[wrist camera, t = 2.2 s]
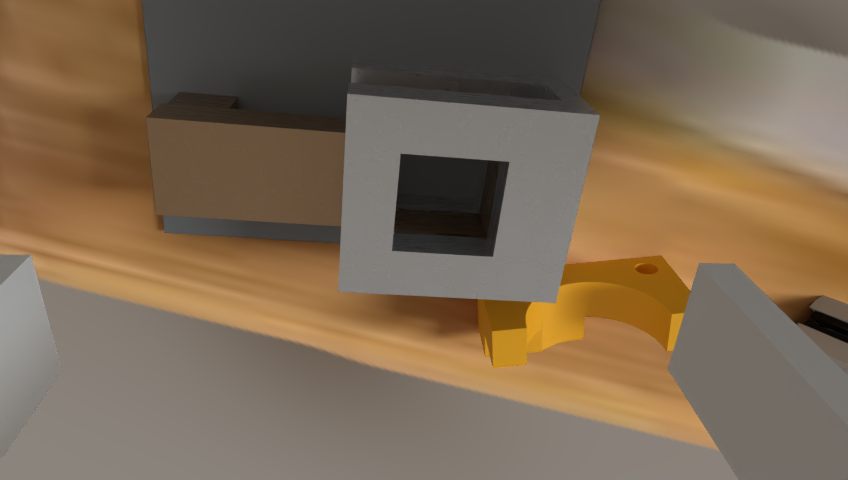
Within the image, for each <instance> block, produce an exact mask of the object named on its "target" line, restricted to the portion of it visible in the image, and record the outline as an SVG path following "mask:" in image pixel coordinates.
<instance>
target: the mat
mask: <svg viewBox="0 0 848 480" xmlns="http://www.w3.org/2000/svg"><path fill="white" fill-rule="evenodd" d="M600 1H601V0H142V8H143V18H144V28H145V38H146V48H147V58H148V69H149V79H150V89H151V99H152V109H153V111H154V110H155V109H156V108H157V107H158V106H159V105H160V104H161V103H166V104H167V103H168V102H169V101H170V100H171V99H173V98H174V97H175V96H176V95H177V94H178V93H179V92H190V93H202V94H214V95H226V96H238V109H240V110H253V111H265V112H277V113H290V114H302V115H315V116H327V117H339V118H346V111H347V93H348V87H349V82H351V74H352V64H353V59H357V60H368V61H379V62H391V63H402V64H413V65H424V66H435V67H446V68H457V69H468V70H479V71H490V72H501V73H512V74H524V75H535V76H546V77H557V78H561V79H562V80H563V81H564V82H565V83H566V84H567V85H568V86H569V87H571V88H572V89H573V90H574V91H575V92H576V93H577V94H578V95H579V96H580V93H581V88H582V84H583V79H584V74H585V70H586V65H587V61H588V56H589V52H590V47H591V42H592V38H593V33H594V29H595V24H596V19H597V15H598V10H599V6H600ZM479 164H480V160H479V159H466V158H452V157H439V156H426V155H413V154H401V156H400V167H399V178H398V189H397V194H407V195H421V196H436V197H451V198H465V199H474V197H475V190H476V183H477V177H478V170H479ZM163 221H164V231H165V233H178V234H195V235H211V236H228V237H244V238H261V239H278V240H294V241H311V242H328V243H340V241H341V226H326V225H310V224H294V223H278V222H262V221H246V220H230V219H214V218H198V217H183V216H167V215H163Z"/></svg>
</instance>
